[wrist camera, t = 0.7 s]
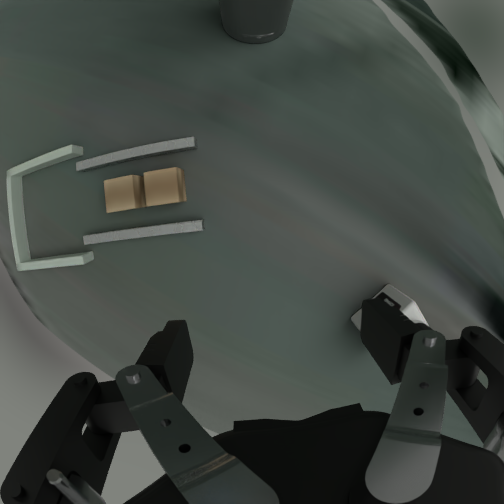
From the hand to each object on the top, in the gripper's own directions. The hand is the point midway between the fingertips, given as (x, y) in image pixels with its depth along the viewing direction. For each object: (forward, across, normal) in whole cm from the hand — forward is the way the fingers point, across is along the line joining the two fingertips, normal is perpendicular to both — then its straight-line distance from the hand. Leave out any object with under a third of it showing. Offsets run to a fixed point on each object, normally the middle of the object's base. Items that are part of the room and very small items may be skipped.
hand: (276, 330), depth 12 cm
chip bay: (+24, +30, -8) cm, 39 cm away
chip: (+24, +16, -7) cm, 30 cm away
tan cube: (+24, +10, -7) cm, 27 cm away
